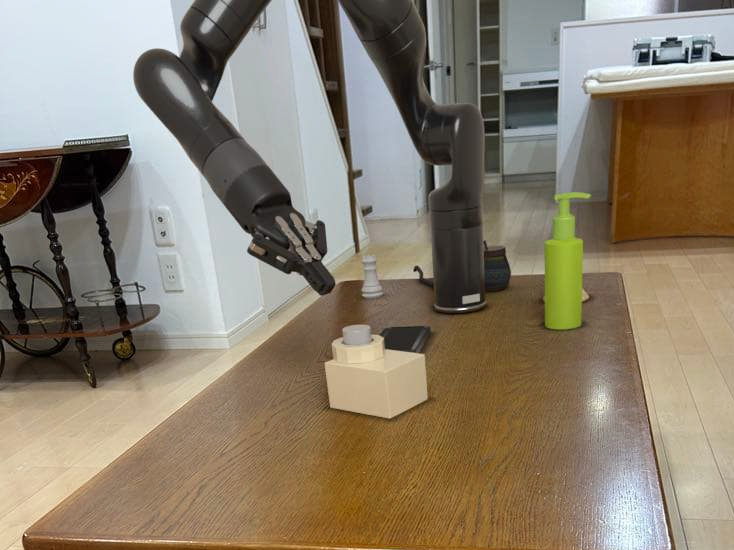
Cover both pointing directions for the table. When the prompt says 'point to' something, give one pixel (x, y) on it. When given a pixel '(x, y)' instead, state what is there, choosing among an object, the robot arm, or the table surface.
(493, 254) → the mate gourd
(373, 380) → the push button station
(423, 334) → the phone
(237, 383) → the table surface
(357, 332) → the grey push button
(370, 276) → the rook chess piece
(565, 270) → the soap dispenser
